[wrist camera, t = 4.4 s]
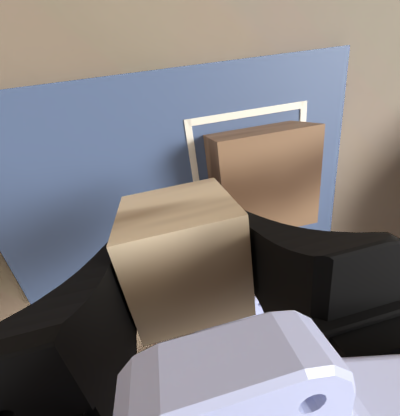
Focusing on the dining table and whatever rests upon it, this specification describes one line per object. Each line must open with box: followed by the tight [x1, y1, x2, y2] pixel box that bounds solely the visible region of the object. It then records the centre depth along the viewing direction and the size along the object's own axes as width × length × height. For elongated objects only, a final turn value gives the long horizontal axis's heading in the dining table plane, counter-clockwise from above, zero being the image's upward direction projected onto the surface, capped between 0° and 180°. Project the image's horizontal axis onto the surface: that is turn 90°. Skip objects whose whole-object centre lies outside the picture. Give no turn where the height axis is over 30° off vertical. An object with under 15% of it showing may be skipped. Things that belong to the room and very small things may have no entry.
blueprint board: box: [0, 45, 350, 304], centre depth 19 cm, size 16×28×1 cm, turn 98°
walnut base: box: [203, 120, 325, 227], centre depth 18 cm, size 7×7×4 cm
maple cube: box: [106, 178, 256, 347], centre depth 10 cm, size 4×4×4 cm
